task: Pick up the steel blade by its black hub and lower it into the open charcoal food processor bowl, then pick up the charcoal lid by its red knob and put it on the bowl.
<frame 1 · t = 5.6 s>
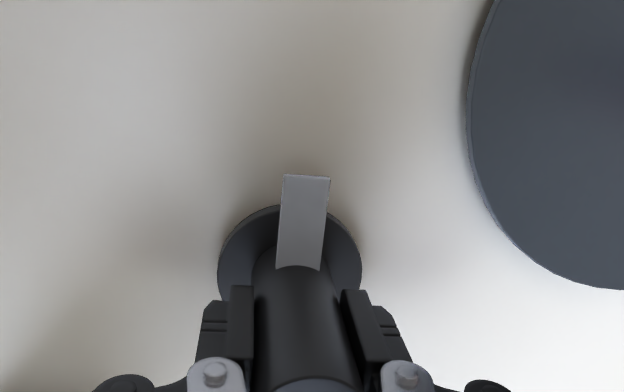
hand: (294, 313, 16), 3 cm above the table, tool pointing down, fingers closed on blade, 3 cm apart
blade: (289, 269, 18), on the table, touching gripper
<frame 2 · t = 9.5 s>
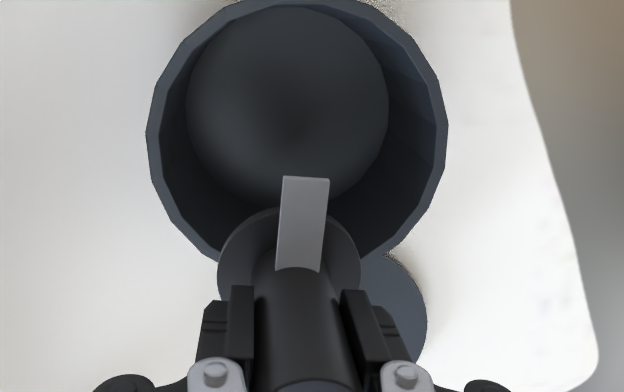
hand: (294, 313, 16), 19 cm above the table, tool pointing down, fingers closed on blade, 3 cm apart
bowl: (288, 113, 32), on the table
blade: (289, 270, 18), point 16 cm above the table, touching gripper
lid: (329, 332, 38), point 1 cm above the table
when the fingers open (3 cm above the table, at t = 13.5 s): blade stays where it is, resting on bowl.
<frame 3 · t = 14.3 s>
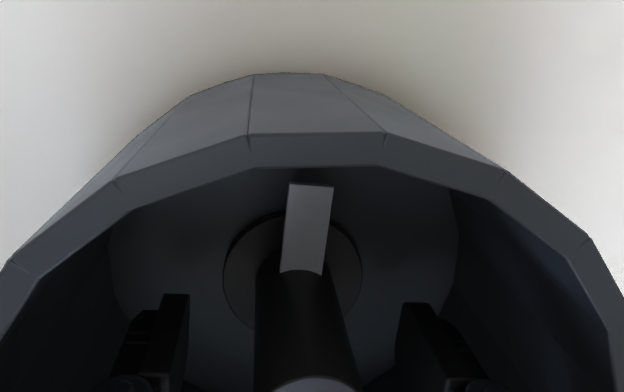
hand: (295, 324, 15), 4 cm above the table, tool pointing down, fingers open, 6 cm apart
bowl: (289, 260, 19), on the table
blade: (292, 273, 19), resting on bowl
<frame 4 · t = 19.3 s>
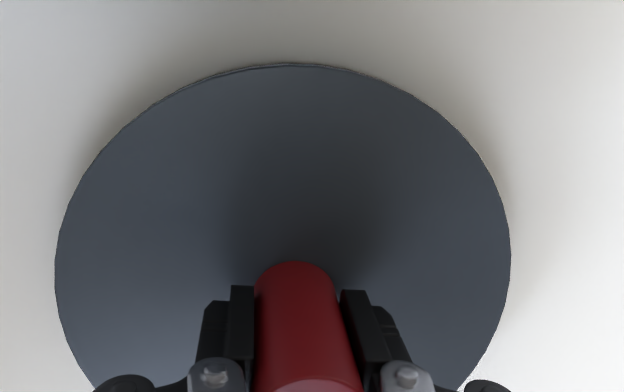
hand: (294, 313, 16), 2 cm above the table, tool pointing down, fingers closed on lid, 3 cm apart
lid: (292, 290, 17), point 1 cm above the table, touching gripper
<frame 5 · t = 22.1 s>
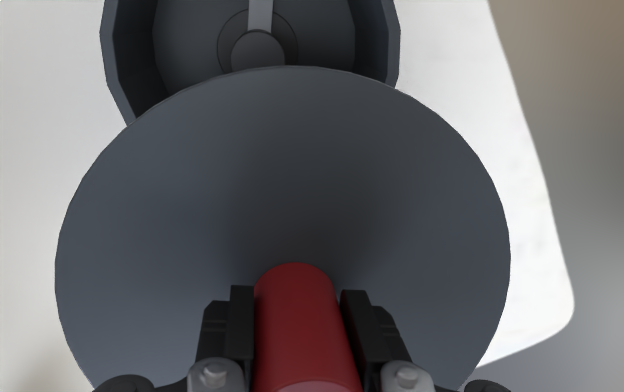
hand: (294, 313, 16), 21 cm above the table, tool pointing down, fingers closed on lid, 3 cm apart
bowl: (256, 45, 33), on the table
blade: (258, 50, 32), resting on bowl
lid: (292, 291, 17), point 20 cm above the table, touching gripper
when the fingers open (11 cm above the table, at t = 25.3 s): lid stays where it is, resting on bowl.
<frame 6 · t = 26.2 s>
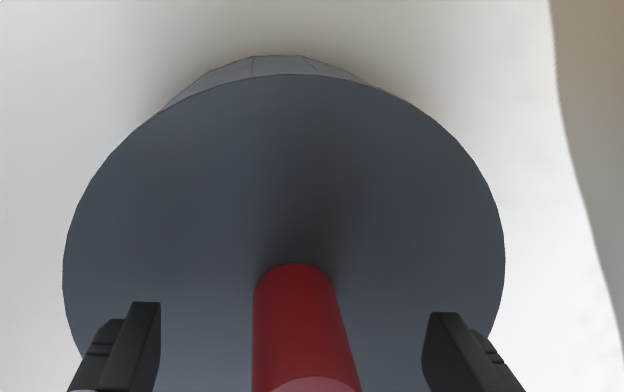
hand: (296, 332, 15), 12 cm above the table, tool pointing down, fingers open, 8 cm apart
bowl: (279, 194, 26), on the table
lid: (292, 291, 17), point 9 cm above the table, touching bowl
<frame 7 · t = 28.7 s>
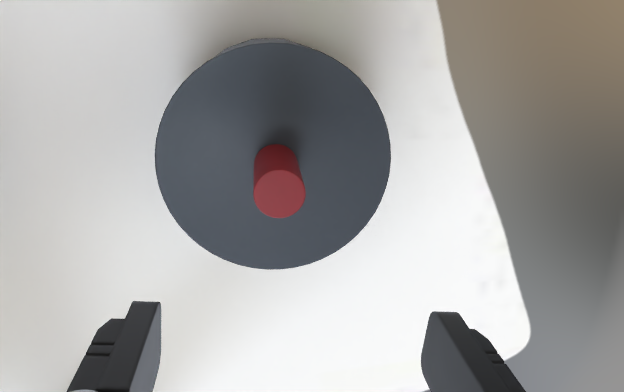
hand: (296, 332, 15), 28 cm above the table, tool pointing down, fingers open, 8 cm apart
lid: (275, 163, 32), point 9 cm above the table, touching bowl
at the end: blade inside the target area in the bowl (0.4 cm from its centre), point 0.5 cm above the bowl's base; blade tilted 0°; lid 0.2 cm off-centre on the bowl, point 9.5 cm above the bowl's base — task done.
